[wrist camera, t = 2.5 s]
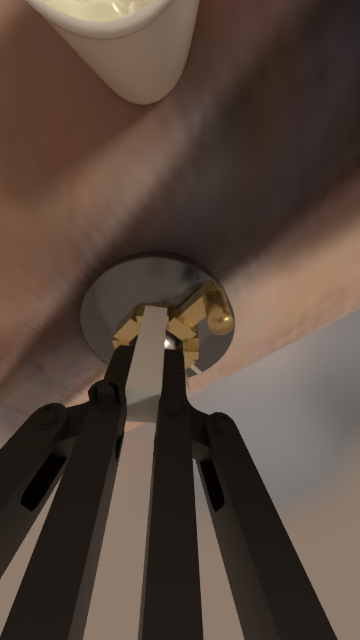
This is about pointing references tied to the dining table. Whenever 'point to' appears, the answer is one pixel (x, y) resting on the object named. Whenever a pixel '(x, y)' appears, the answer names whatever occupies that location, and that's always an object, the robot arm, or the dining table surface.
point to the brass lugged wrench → (183, 320)
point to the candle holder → (127, 41)
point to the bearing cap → (149, 287)
